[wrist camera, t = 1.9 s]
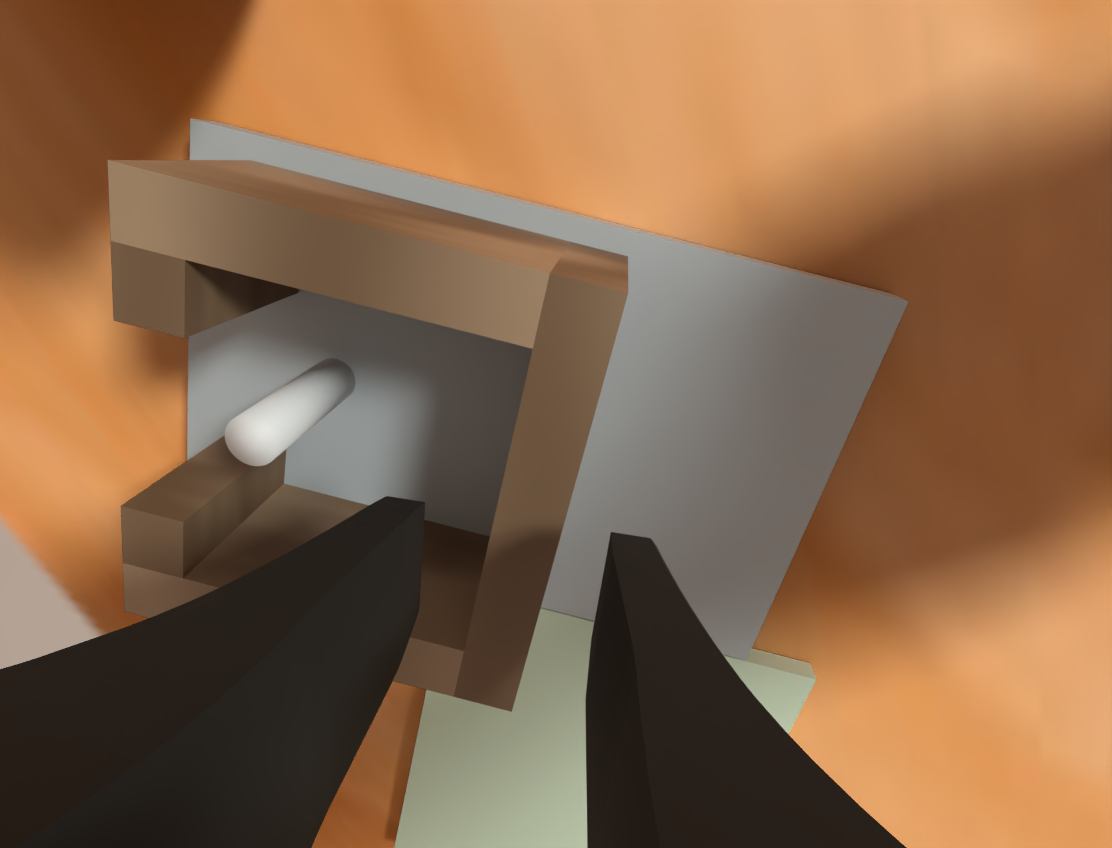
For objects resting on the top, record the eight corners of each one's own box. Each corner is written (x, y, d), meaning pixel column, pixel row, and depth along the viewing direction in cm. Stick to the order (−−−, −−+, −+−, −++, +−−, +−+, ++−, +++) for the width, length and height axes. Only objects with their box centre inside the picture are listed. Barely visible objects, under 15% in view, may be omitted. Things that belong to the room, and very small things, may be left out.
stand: (893, 294, 14) (1004, 348, 10) (741, 639, 18) (776, 783, 13) (213, 120, 14) (42, 104, 10) (205, 500, 18) (79, 602, 14)
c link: (628, 256, 13) (628, 292, 10) (537, 589, 17) (511, 711, 13) (250, 160, 13) (107, 159, 10) (235, 511, 17) (124, 611, 13)
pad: (810, 663, 18) (816, 679, 17) (686, 908, 22) (688, 927, 21) (453, 571, 18) (447, 584, 17) (399, 833, 22) (393, 851, 21)
